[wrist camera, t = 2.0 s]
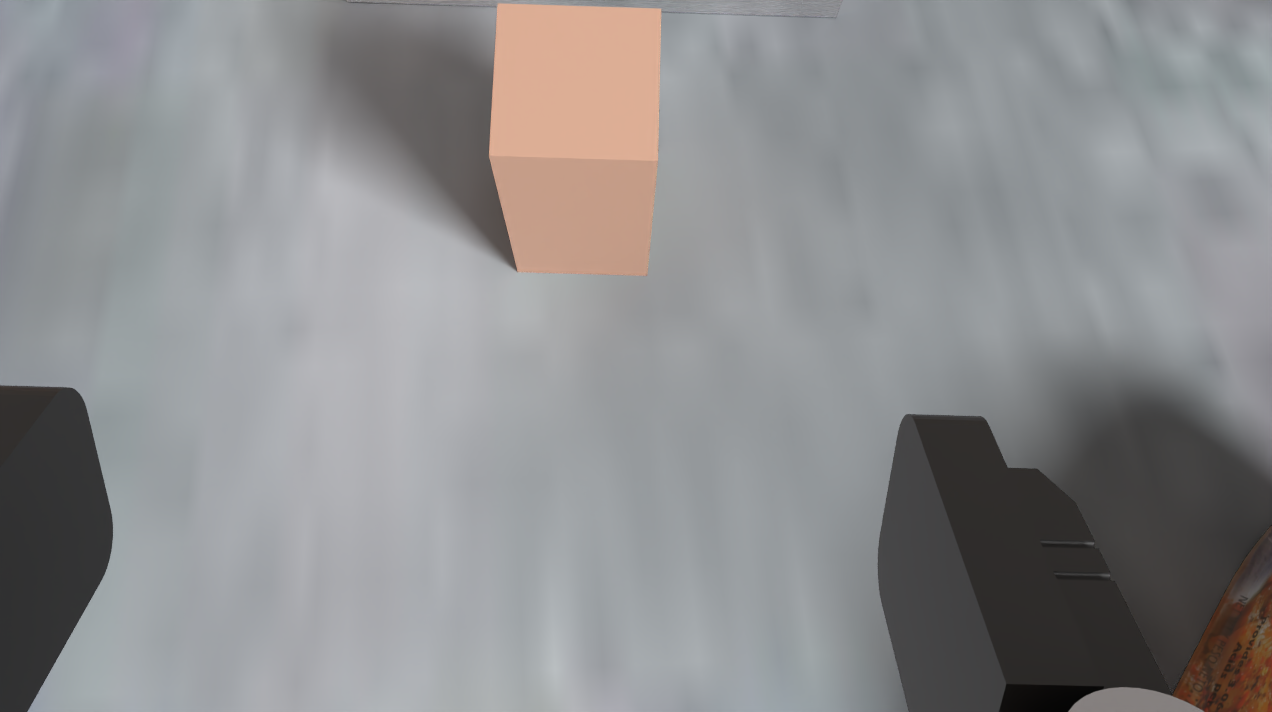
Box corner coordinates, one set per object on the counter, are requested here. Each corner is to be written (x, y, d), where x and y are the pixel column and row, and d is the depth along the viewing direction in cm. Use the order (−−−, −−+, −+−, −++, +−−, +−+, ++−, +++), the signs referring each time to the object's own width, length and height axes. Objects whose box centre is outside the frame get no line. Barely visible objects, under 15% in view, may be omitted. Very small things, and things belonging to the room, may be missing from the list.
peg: (523, 151, 38) (497, 3, 30) (650, 155, 38) (660, 8, 30) (517, 272, 37) (488, 155, 29) (647, 275, 37) (657, 160, 29)
